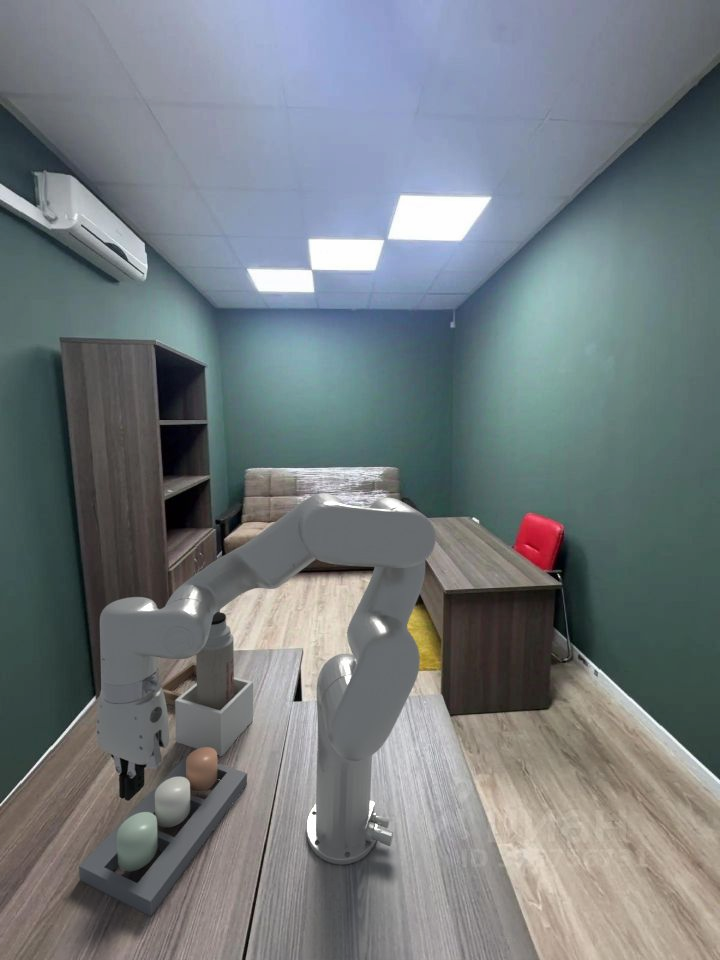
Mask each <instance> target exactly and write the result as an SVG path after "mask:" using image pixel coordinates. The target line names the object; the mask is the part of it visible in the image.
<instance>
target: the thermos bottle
mask: <svg viewBox="0 0 720 960" xmlns="http://www.w3.org/2000/svg"><path fill="white" fill-rule="evenodd" d="M234 638H235V637H234V636H233V635H232V631H231V628H230V626H229V625H227V615H226V614H225V613H224V612H220V611H218V612H217V613H215V614H214V616H213V619H212V623H211V627H210V632H209V636H208V639H207V642H206V644H205V646H204V647H203V649H202V650H201V651H200V652H199V653H197V654H196V655H195V656H196V660H195V661H196V669H197V675H196V683H197V704H200V705H203V706H206V707H210V708H213V709H217V710H221V709H222V708H223V707H224V706H225V705H226V704H227V703H228V702H229V701H231V700H232V699H233V698H234V677H235V673H234V672H235V671H234V670H235V667H234V666H235V665H234V664H235V663H234V661H235V660H234V658H235V657H234V656H235V655H234V643H235V642H234V641H235V640H234Z"/></svg>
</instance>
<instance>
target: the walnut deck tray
mask: <svg viewBox="0 0 720 960" xmlns="http://www.w3.org/2000/svg"><path fill="white" fill-rule="evenodd" d="M193 675H194V676H197V669H196V663H195V662H191V663H190V664H188V665H187V667H185V668H183V669H182V670H181V671H179V672H178V673H177V674H175V675H174V676H172V677H171V678H170V679H169V680H168V681H166V682H165V683H163V684H161V688H162V689H163V693H164V696H165V701H166V705H171V706H174V707H175V700H176V699H177V698H178V697H180V696H181V695H182V694H183V693H178V692H175V689H177V688H179V686H181V685H182V684H184V683H185V682H186V681H187V680H188V679H190V678H191V677H192V676H193Z"/></svg>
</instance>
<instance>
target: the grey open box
mask: <svg viewBox="0 0 720 960" xmlns="http://www.w3.org/2000/svg"><path fill="white" fill-rule="evenodd" d="M181 694H182V695H181V696H180V697H178V698H177V699H176V700H175V706H174V707H175V708H174V709H175V710H174V711H175V714H174V715H175V742H176V743H179V744H183V745H185V746H188V747H191V748H194V749H195V750H196V749H199V748H203V747H210V748H213V749H215V750H216V752H217V755H219V756H218V757H220V756H222V755H223V754H224V755H225V754H226V753H227V752H228V751H229V749H230V748H231V747H232V746H233V744H234V743H235V742H236V741H237V740H236V739H238V738H239V737H240V736H241V735H242V734H243V733H244V732H245V730H246V729H247V728H248V727H249V726H250V725H251V723H252V722H253V721H254V682H253V681H251V680H247V679H244V678H239V677H236V676H234V698H233V699H232V700H231V701H229V702H228V703H227V704H226V705H225V706H224V707H223V708H222V709H221V710H217V709H213V708H210V707H206V706H203V705H200V704H197V682H196V683H194V684H193V685H192V686H191V687H190V688H188V689H187V690H185V692H183V693H181ZM252 720H253V721H252ZM249 724H250V725H249ZM248 725H249V726H248ZM247 726H248V727H247ZM242 732H243V733H242ZM241 733H242V734H241ZM240 734H241V735H240ZM239 735H240V736H239ZM238 736H239V737H238ZM237 737H238V738H237ZM235 740H236V741H235ZM234 741H235V742H234ZM233 742H234V743H233ZM229 747H230V748H229ZM224 755H223V756H224ZM223 756H222V757H223Z"/></svg>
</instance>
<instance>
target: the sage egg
mask: <svg viewBox="0 0 720 960" xmlns="http://www.w3.org/2000/svg"><path fill="white" fill-rule="evenodd" d="M157 830H158V824H157V818H156V816H155V815H154V814H152V813H150V812H141V813H137V814H135V815H133V816H131V817H129V818H128V819H127V820H126V821H125V822H123V824H122V825H121V826H120V828H119V829H118V832H117V854H118V865H119V866H118V867H119V868H120V870H122V871H124V872H134V871H138V870H140V869H141V868H144V867H145V866H146V865H148V864H149V863H150V862H151V861H152V860H153V859H154V857H155V856H156V855H157V851H158V850H157V848H158V837H157Z"/></svg>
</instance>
